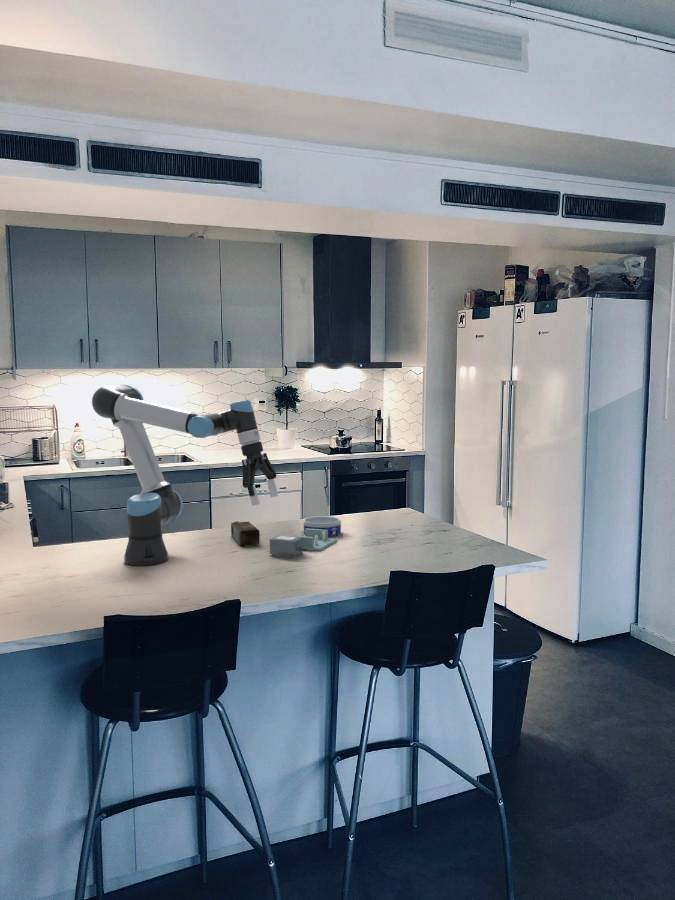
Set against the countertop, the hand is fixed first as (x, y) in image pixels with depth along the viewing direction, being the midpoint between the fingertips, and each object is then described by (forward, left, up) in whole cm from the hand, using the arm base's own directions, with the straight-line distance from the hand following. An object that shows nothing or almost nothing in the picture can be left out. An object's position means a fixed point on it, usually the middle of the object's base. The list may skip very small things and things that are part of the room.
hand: (265, 500), depth 259 cm
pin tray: (+7, +21, -20) cm, 30 cm away
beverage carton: (-20, +19, -21) cm, 35 cm away
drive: (+5, +5, -21) cm, 22 cm away
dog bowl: (+4, +40, -21) cm, 46 cm away
